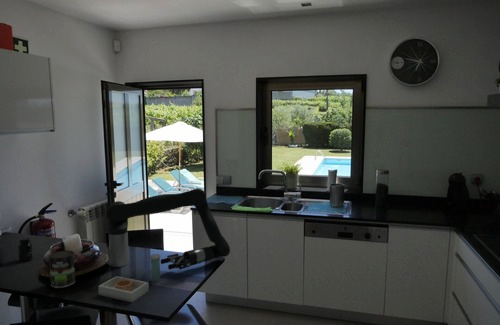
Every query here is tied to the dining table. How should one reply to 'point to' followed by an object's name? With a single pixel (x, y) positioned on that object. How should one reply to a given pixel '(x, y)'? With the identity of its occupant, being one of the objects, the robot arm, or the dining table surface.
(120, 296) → the open box
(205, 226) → the robot arm
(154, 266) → the teal capped tube
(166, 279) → the dining table surface
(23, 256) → the supplement bottle
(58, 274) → the coffee can
